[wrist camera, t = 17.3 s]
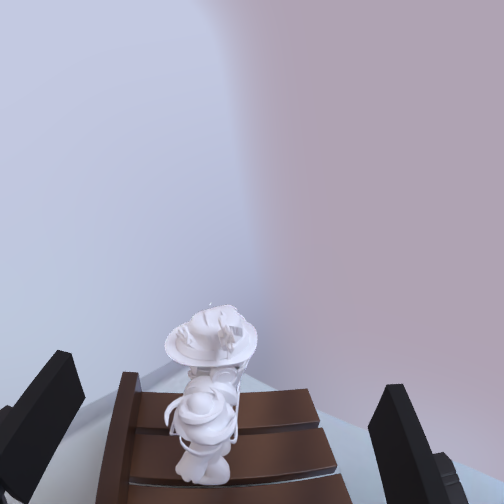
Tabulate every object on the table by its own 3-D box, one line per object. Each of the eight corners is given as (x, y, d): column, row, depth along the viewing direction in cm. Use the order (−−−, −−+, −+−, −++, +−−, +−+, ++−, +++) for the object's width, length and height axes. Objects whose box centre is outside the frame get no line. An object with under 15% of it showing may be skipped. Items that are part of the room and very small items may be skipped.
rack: (292, 444, 27) (312, 369, 23) (324, 551, 16) (370, 504, 12) (142, 447, 25) (122, 371, 21) (135, 561, 13) (92, 518, 10)
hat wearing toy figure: (239, 522, 13) (258, 371, 9) (167, 512, 13) (124, 354, 9) (247, 411, 21) (262, 254, 17) (193, 406, 21) (188, 248, 17)
